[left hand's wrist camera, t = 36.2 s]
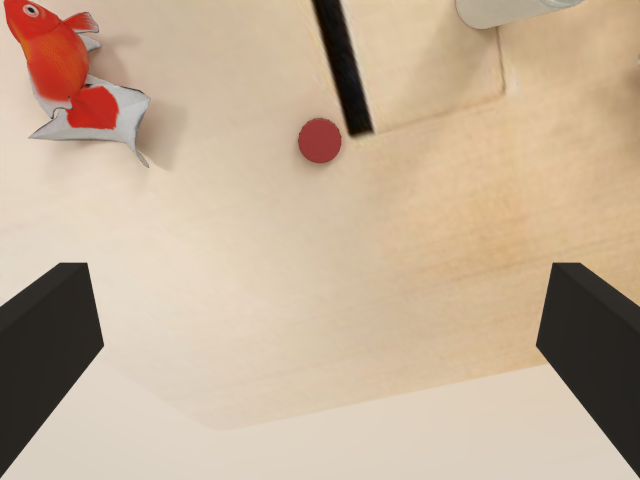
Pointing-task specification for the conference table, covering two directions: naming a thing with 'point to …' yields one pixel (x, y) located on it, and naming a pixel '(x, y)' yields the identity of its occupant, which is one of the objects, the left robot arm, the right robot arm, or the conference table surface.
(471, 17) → the bottle
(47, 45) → the fish
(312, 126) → the cap
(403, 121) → the conference table surface
